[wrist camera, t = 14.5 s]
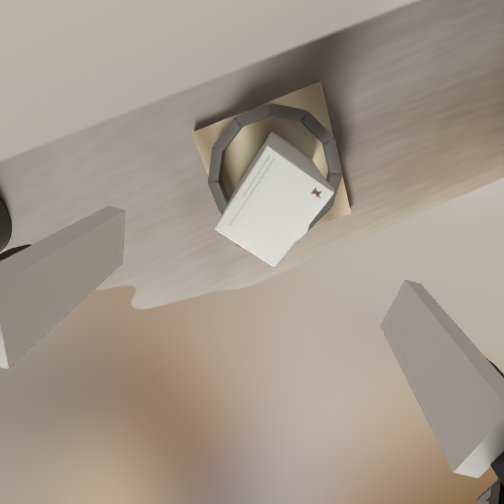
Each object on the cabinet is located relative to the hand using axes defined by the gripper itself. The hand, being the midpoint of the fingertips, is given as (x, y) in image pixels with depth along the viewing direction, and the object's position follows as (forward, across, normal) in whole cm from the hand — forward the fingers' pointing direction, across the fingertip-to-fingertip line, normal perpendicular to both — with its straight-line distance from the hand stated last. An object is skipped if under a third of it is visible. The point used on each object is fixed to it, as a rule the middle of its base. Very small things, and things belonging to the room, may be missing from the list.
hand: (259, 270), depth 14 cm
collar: (+27, 0, 0) cm, 27 cm away
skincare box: (+26, 0, 0) cm, 26 cm away
